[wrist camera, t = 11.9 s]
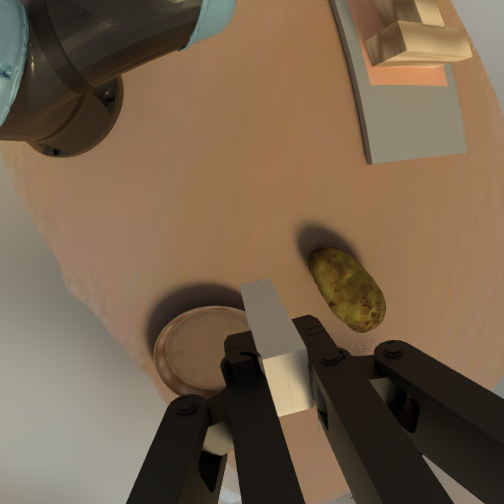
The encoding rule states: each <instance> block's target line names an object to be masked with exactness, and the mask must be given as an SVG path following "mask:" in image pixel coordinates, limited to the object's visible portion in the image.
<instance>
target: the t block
mask: <svg viewBox="0 0 504 504" xmlns="http://www.w3.org/2000/svg"><path fill="white" fill-rule="evenodd" d="M374 2H375V5H376V8H377V11H378V13H379V16H380V19H381V22H382V25H383V28H384V29H383V30H382V31H380V32H379V33H377V34H376V35H374V36H373V37H371V38H369V39H368V40H366V41H365V44H366V47H367V51H368V54H369V58H370V61H371V65H372V67H424V68H437V67H440V66H443V65H446V64H450V63H453V62H457V61H460V60H464V59H467V58H471V57H473V56H472V53H471V49H470V46H469V43H468V40H467V37H466V34H465V31H464V30H459V29H454V28H449V27H445V25H444V23H443V20H442V17H441V14H440V12H439V9H438V6H437V4H436V1H435V0H374Z"/></svg>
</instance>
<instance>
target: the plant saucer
mask: <svg viewBox="0 0 504 504" xmlns="http://www.w3.org/2000/svg"><path fill="white" fill-rule="evenodd" d="M249 330H250V329H249V324H248V320H247V316H246V312H245V311H243V310H240V309H236V308H232V307H227V306H205V307H199V308H195V309H192V310H189V311H187V312H184V313H182V314H180V315H179V316H177V317H175V318H174V319H173V320H171V321H170V322H169V323H168V324H167V325H166V326H165V327H164V328H163V330H162V331H161V332H160V334H159V336H158V338H157V340H156V343H155V347H154V353H153V359H154V366H155V369H156V372H157V374H158V376H159V378H160V380H161V381H162V382H163V384H164V385H165V386H166V387H167V388H168V389H169V390H170V391H171V392H173V393H174V394H175V395H177V396H179V397H180V396H183V395H187V394H197V395H200V396H202V397H204V398H205V400H206V399H208V398H210V397H213V396H215V395H217V394H218V393H220V392H221V391H222V390H223V389H224V388H225V387H226V384H225V381H224V378H223V374H222V371H221V368H220V363H221V361H222V359H223V358H224V357H225V350H224V341H225V340H226V338H227V336H228V335H232V334H236V333H241V332H245V331H249Z"/></svg>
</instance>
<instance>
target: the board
mask: <svg viewBox="0 0 504 504" xmlns="http://www.w3.org/2000/svg"><path fill="white" fill-rule="evenodd" d="M330 3H331V6H332V9H333V12H334V16H335V19H336V22H337V26H338V29H339V33H340V36H341V40H342V43H343V47H344V51H345V55H346V59H347V63H348V67H349V71H350V75H351V79H352V84H353V88H354V93H355V97H356V102H357V107H358V112H359V117H360V122H361V128H362V133H363V139H364V145H365V151H366V158H367V164H371V165H373V164H380V163H387V162H394V161H402V160H410V159H418V158H426V157H435V156H444V155H453V154H464V153H467V148H466V140H465V133H464V126H463V120H462V114H461V108H460V103H459V98H458V93H457V88H456V83H455V79H454V75H453V70H452V66H451V63H450V64H446V65H443V66H440V67H437V68H424V67H372V65H371V61H370V58H369V54H368V51H367V47H366V44H365V41H366V40H368V39H369V38H371V37H373V36H374V35H376V34H377V33H379V32H380V31H382V30H383V29H384V28H383V25H382V22H381V19H380V16H379V13H378V11H377V8H376V5H375V2H374V0H330Z"/></svg>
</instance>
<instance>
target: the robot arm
mask: <svg viewBox="0 0 504 504" xmlns="http://www.w3.org/2000/svg"><path fill="white" fill-rule="evenodd" d="M236 1H237V0H0V140H6V141H26V142H27V143H28V144H29V145H30V146H31V147H32V148H33V149H35V150H36V151H38V152H39V153H41V154H44V155H46V156H50V157H73V156H77V155H80V154H83V153H85V152H87V151H89V150H91V149H92V148H94V147H95V146H96V145H98V144H99V143H100V142H101V141H102V140H103V139H104V138H105V137H106V136H107V134H108V133H109V132H110V131H111V129H112V128H113V126H114V124H115V122H116V120H117V118H118V116H119V113H120V110H121V107H122V102H123V82H122V78H121V74H123V73H125V72H128V71H130V70H132V69H134V68H136V67H138V66H140V65H143V64H145V63H147V62H149V61H152V60H154V59H156V58H159V57H161V56H164V55H166V54H168V53H171V52H174V51H176V50H178V51H183V50H185V49H187V48H188V47H190V46H191V45H192V44H194V43H197V42H199V41H202V40H204V39H207V38H210V37H212V36H215V35H217V34H219V33H220V32H222V31H223V30H224V29H225V27H226V26H227V25H228V24H229V23H230V21H231V19H232V17H233V14H234V11H235V7H236ZM240 289H241V294H242V298H243V303H244V307H245V311H246V316H247V320H248V324H249V329H250V330H249V331H245V332H241V333H236V334H232V335H228V336H227V338H226V340H225V341H224V350H225V357H224V358H223V359H222V361H221V363H220V368H221V371H222V374H223V378H224V381H225V384H226V387H225V388H224V389H223V390H222V391H221V392H220V393H218V394H217V395H215V396H213V397H210V398H208V399H206V400H205V398H204V397H202V396H200V395H197V394H187V395H183V396H180V397H178V398H176V399H175V400H173V401H172V402H171V403H170V405H169V406H168V407H167V410H166V412H165V414H164V417H163V419H162V421H161V423H160V426H159V428H158V430H157V433H156V435H155V437H154V439H153V442H152V444H151V446H150V449H149V451H148V453H147V456H146V458H145V461H144V463H143V465H142V467H141V470H140V472H139V474H138V477H137V479H136V481H135V484H134V486H133V488H132V491H131V493H130V495H129V498H128V500H127V502H126V504H218V499H219V495H220V490H221V485H222V480H223V476H224V471H225V466H226V461H227V457H228V456H227V453H228V452H230V451H233V450H234V452H235V459H236V466H237V473H238V479H239V486H240V492H241V499H242V504H305V501H304V498H303V495H302V492H301V489H300V486H299V482H298V479H297V476H296V473H295V470H294V466H293V463H292V460H291V457H290V454H289V450H288V447H287V444H286V441H285V437H284V434H283V431H282V428H281V424H280V421H279V418H278V417H280V416H284V415H288V414H292V413H295V412H299V411H303V410H306V409H310V408H313V407H314V402H313V399H314V401H315V404H316V406H317V413H318V422H319V430H322V427H323V429H324V432H325V434H326V436H327V438H328V441H329V443H330V445H331V448H332V450H333V452H334V454H335V457H336V459H337V461H338V463H339V466H340V468H341V470H342V473H343V475H344V477H345V479H346V482H347V484H348V486H349V488H350V491H351V493H352V495H353V497H354V500H355V502H356V504H454V503H453V501H452V500H451V498H450V497H449V495H448V494H447V492H446V491H445V489H444V488H443V487H442V485H441V483H440V482H439V481H438V479H437V478H436V476H435V475H434V473H433V472H432V470H431V469H430V467H429V466H428V464H427V463H426V461H425V460H424V458H423V457H422V456H421V454H420V453H419V451H420V452H421V453H422V454H423V455H425V456H426V457H427V458H428V459H429V460H431V461H432V462H433V463H434V464H436V465H437V466H438V467H439V468H440V469H442V470H443V471H444V472H445V473H447V474H448V475H449V476H450V477H452V478H453V479H454V480H455V481H457V482H458V483H459V484H460V485H462V486H463V487H464V488H465V489H467V490H468V491H469V492H470V493H472V494H473V495H475V496H476V497H477V498H478V499H479V500H481V501H482V502H483V503H485V504H504V399H503V398H501V397H499V396H498V395H496V394H494V393H493V392H491V391H489V390H487V389H486V388H484V387H482V386H481V385H479V384H477V383H475V382H474V381H472V380H470V379H468V378H467V377H465V376H463V375H462V374H460V373H458V372H456V371H455V370H453V369H451V368H449V367H448V366H446V365H444V364H443V363H441V362H439V361H437V360H436V359H434V358H432V357H430V356H429V355H427V354H425V353H424V352H422V351H420V350H418V349H417V348H415V347H413V346H412V345H410V344H408V343H406V342H403V341H400V340H389V341H385V342H383V343H380V344H379V345H378V346H377V347H376V348H375V350H374V355H368V356H351V354H350V353H349V352H348V351H347V350H345V349H342V348H339V347H337V346H336V344H335V343H334V341H333V340H332V338H331V337H330V335H329V334H328V333H327V331H326V330H325V328H324V327H323V326H322V324H321V322H320V321H319V320H318V319H317V318H315V317H313V316H311V315H306V316H302V317H298V318H294V319H291V318H290V316H289V314H288V312H287V310H286V309H285V307H284V305H283V303H282V301H281V299H280V297H279V295H278V294H277V292H276V290H275V288H274V286H273V284H272V282H271V281H270V279H269V278H267V279H262V280H258V281H254V282H249V283H245V284H241V285H240Z"/></svg>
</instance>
